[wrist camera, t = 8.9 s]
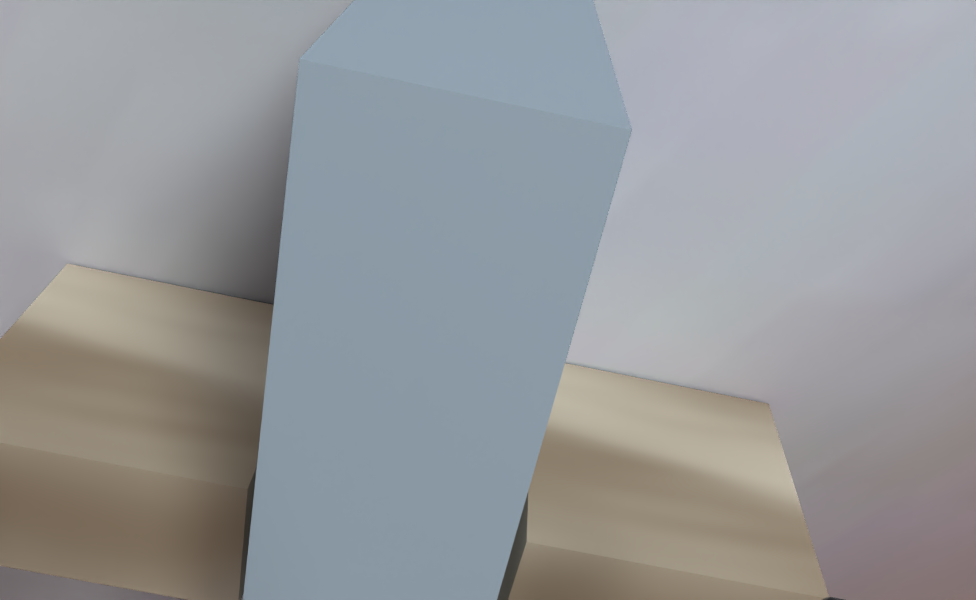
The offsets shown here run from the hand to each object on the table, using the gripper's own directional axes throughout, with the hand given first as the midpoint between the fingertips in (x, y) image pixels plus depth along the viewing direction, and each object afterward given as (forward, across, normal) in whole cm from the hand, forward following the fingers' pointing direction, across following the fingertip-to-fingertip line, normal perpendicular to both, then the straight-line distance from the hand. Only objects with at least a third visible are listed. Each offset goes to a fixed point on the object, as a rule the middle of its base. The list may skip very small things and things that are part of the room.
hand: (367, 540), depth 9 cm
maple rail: (+8, 0, +4) cm, 9 cm away
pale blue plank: (+7, 0, +2) cm, 7 cm away
